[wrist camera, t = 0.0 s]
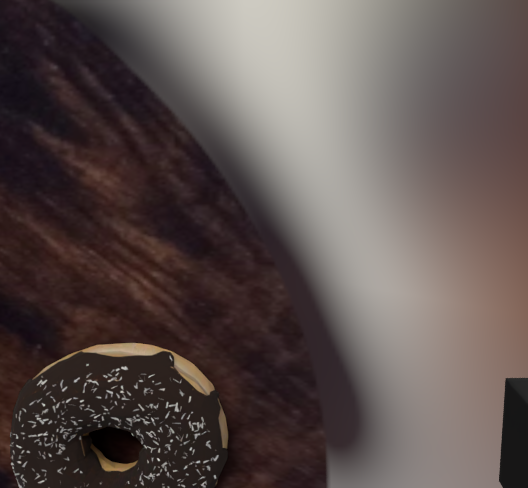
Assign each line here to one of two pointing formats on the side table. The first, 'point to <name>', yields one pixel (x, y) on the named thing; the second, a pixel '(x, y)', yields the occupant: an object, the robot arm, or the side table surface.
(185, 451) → the donut
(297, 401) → the side table surface
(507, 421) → the robot arm
